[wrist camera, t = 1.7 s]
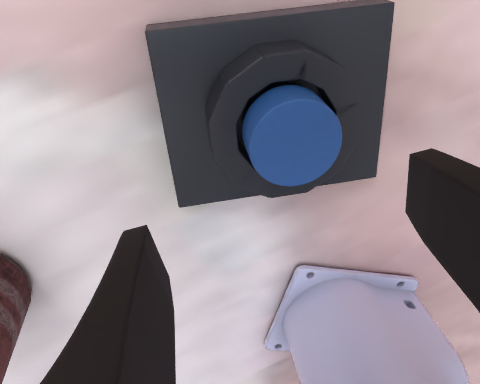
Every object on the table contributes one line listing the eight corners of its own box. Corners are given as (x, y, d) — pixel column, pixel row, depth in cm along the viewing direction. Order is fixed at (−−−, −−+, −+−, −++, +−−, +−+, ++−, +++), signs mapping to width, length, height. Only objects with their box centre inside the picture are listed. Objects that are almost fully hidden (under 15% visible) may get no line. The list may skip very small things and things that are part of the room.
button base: (380, -3, 20) (418, 9, 17) (365, 164, 25) (393, 196, 22) (145, 24, 19) (143, 41, 16) (178, 193, 24) (180, 230, 21)
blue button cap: (328, 78, 18) (345, 92, 17) (326, 159, 20) (340, 179, 19) (238, 90, 18) (245, 106, 16) (245, 172, 20) (252, 193, 18)
